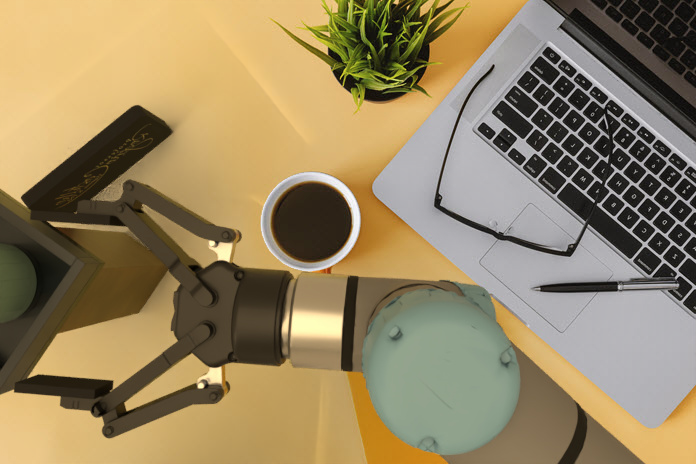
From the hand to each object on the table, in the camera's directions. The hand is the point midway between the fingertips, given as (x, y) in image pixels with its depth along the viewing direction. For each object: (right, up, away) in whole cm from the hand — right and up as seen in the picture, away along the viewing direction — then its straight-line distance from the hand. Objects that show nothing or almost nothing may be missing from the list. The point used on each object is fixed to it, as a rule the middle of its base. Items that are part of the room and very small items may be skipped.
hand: (33, 299), depth 39 cm
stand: (-8, -1, +35) cm, 36 cm away
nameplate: (-10, +15, +37) cm, 41 cm away
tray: (-9, 0, +10) cm, 13 cm away
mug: (-11, 0, +9) cm, 14 cm away
